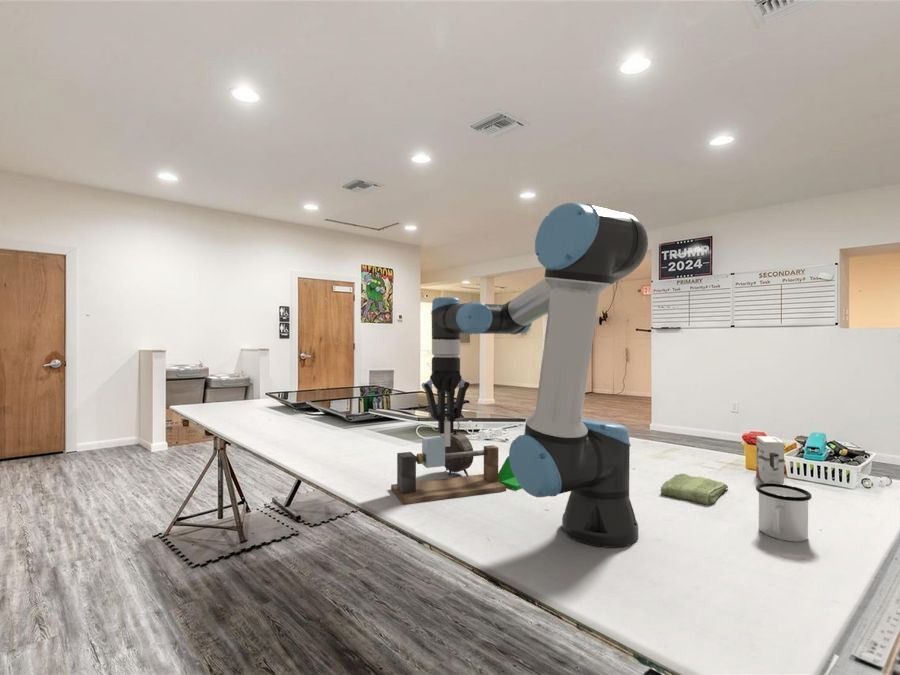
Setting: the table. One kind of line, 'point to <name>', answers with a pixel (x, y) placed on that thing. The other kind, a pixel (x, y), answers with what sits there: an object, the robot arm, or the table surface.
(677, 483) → the washcloth
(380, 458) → the table surface
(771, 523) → the mug
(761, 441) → the ink box
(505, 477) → the bracket
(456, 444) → the alarm clock
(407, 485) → the wooden slider rail stand
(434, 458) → the light blue block
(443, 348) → the robot arm
